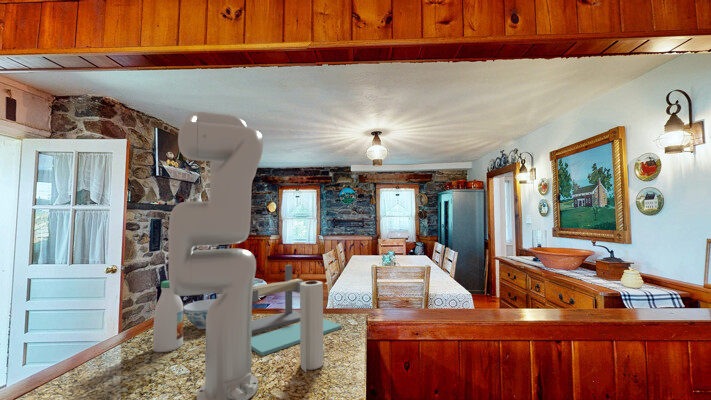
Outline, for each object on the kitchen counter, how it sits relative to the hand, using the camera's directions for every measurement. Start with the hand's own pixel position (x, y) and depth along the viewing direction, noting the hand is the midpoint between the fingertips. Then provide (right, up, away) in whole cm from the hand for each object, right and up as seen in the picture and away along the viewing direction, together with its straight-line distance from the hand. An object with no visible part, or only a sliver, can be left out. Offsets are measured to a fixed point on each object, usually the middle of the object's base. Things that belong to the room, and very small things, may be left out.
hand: (227, 245), depth 108 cm
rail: (+15, -18, +5) cm, 24 cm away
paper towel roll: (+34, -28, -29) cm, 52 cm away
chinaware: (-9, -30, +3) cm, 32 cm away
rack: (+15, -30, +5) cm, 34 cm away
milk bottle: (-12, -29, -16) cm, 35 cm away
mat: (+25, -29, -7) cm, 39 cm away
